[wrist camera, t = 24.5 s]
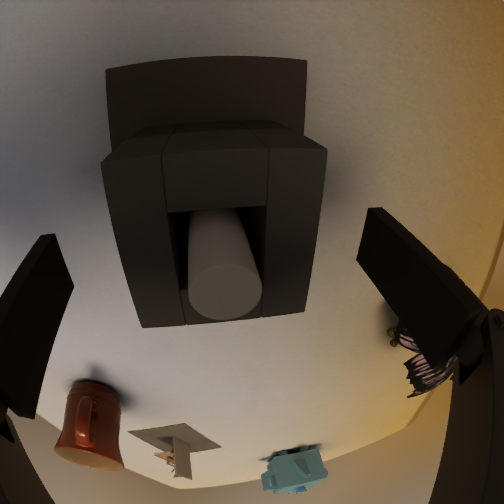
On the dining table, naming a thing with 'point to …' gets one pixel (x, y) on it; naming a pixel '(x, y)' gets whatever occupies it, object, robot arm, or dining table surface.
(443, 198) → the dining table surface
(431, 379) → the decorative flower
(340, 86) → the dining table surface
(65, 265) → the robot arm
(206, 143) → the grey square-holed block
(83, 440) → the mug
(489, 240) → the dining table surface
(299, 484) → the teapot
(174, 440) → the architectural model
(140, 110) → the base pad
